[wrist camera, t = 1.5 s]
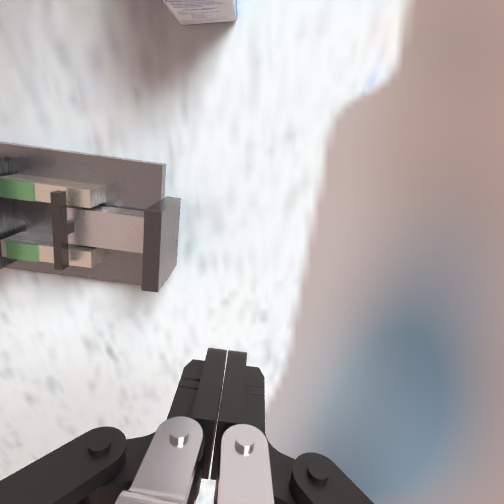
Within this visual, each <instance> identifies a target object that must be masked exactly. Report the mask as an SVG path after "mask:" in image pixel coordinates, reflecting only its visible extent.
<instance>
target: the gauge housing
mask: <svg viewBox="0 0 504 504" xmlns="http://www.w3.org/2000/svg"><path fill="white" fill-rule="evenodd" d="M165 172H166V164H162V163H155V162H147V161H140V160H133V159H125V158H118V157H110V156H103V155H95V154H88V153H80V152H73V151H66V150H58V149H51V148H43V147H36V146H28V145H21V144H13V143H6V142H0V269H1V268H3V267H7V268H15V269H22V270H30V271H38V272H46V273H53V274H61V275H69V276H77V277H84V278H92V279H100V280H108V281H115V282H123V283H131V284H139V285H142V267H143V253H136V252H128V251H121V250H113V249H105V248H98V247H90V246H82V245H75V244H68V251H69V266H68V267H67V268H65V269H64V270H55V269H54V251H53V233H52V215H51V197H50V192H53V191H57V190H60V191H66V202H67V205H70V206H77V207H85V208H92V207H94V206H97V205H101V206H108V207H116V208H124V209H131V210H139V211H144V210H145V209H147V208H148V207H150V206H152V205H153V204H155V203H157V202H158V201H160V200H161V199H163V198H164V193H165Z"/></svg>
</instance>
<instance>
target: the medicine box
mask: <svg viewBox="0 0 504 504" xmlns="http://www.w3.org/2000/svg"><path fill="white" fill-rule="evenodd" d="M163 2H164V3H165V4H166V6H167V7H168V8H169V9H170V11H171V12H172V14H173V15H174V16H175V18H176V19H177V20H178V22H179V23H180V24H181V25H189V24H202V23H215V22H228V21H236V20H237V1H236V0H163Z"/></svg>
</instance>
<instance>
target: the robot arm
mask: <svg viewBox="0 0 504 504" xmlns="http://www.w3.org/2000/svg"><path fill="white" fill-rule="evenodd" d="M226 353H227V350H222V349H214V348H208V351H207V355H206V359H205V361H202V360H194V359H193V360H192V361H191V362H190V363H188V364H187V365H186V366H185V367H184V370H183V373H182V376H181V379H180V382H179V385H178V388H177V391H176V394H175V397H174V400H173V403H172V406H171V409H170V412H169V414H168V417H167V420H166V421H164V422H163V423H162V424H161V425H160V426H159V427H158V429H157V431H156V432H154V433H152V434H150V435H147V436H144V437H139V438H133V439H127V440H126V437H125V435H124V434H123V433H122V432H121V431H120V430H118V429H116V428H114V427H99V428H95V429H92V430H90V431H88V432H86V433H84V434H83V435H81V436H79V437H77V438H76V439H74V440H72V441H70V442H68V443H67V444H65V445H63V446H61V447H60V448H58V449H56V450H54V451H52V452H51V453H49V454H47V455H45V456H44V457H42V458H40V459H38V460H37V461H35V462H33V463H31V464H29V465H28V466H26V467H24V468H22V469H21V470H19V471H17V472H15V473H14V474H12V475H10V476H8V477H6V478H5V479H3V480H1V481H0V504H195V503H196V498H197V496H198V493H199V489H200V483H201V478H203V479H208V476H209V470H210V463H211V457H212V451H213V444H214V438H215V432H216V438H215V446H214V454H213V462H212V470H211V478H210V479H213V480H216V487H215V495H214V502H213V504H374V503H373V502H372V501H371V500H370V499H369V498H368V497H367V496H366V495H365V494H364V493H363V492H362V491H361V490H360V489H359V488H358V487H357V486H356V485H355V484H354V483H353V482H352V481H351V480H350V479H349V478H348V477H347V476H346V475H345V474H344V473H343V472H342V471H341V470H340V469H339V468H338V467H337V466H336V465H335V464H334V463H333V462H332V461H331V460H330V459H328V458H327V457H325V456H323V455H321V454H317V453H305V454H302V455H300V456H299V457H298V458H297V459H296V460H295V459H293V458H291V457H288V456H286V455H284V454H282V453H280V452H278V451H277V450H276V449H275V448H273V447H272V445H271V444H270V443H269V442H268V440H267V438H266V434H265V398H264V376H263V374H262V372H261V371H260V369H259V368H258V367H250V366H246V358H247V353H246V352H238V351H230V350H229V351H228V357H227V364H226V370H225V361H226ZM224 370H225V376H224ZM223 378H224V383H223ZM222 386H223V389H222ZM221 393H222V396H221ZM220 400H221V402H220ZM219 406H220V408H219ZM218 413H219V415H218ZM217 419H218V421H217ZM216 425H217V429H216Z"/></svg>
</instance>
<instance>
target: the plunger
mask: <svg viewBox="0 0 504 504" xmlns="http://www.w3.org/2000/svg"><path fill="white" fill-rule="evenodd" d="M50 197H51V215H52V233H53V251H54V269H55V270H64V269H65V268H67V267H68V266H69V251H68V244H75V245H82V246H90V247H98V248H105V249H113V250H121V251H128V252H136V253H143V267H142V290H144V291H151V292H159V290H160V289H161V287H162V286H163V284H164V283H165V281H166V280H167V278H168V277H169V275H170V274H171V272H172V271H173V269H174V268H175V266H176V262H177V247H178V231H179V215H180V200H181V198H174V197H165V198H163V199H161V200H160V201H158V202H157V203H155V204H153V205H152V206H150V207H148V208H147V209H145V210H144V211H139V210H131V209H124V208H116V207H108V206H101V205H97V206H94V207H92V208H85V207H77V206H70V205H67V202H66V191H60V190H57V191H53V192H50Z"/></svg>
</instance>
